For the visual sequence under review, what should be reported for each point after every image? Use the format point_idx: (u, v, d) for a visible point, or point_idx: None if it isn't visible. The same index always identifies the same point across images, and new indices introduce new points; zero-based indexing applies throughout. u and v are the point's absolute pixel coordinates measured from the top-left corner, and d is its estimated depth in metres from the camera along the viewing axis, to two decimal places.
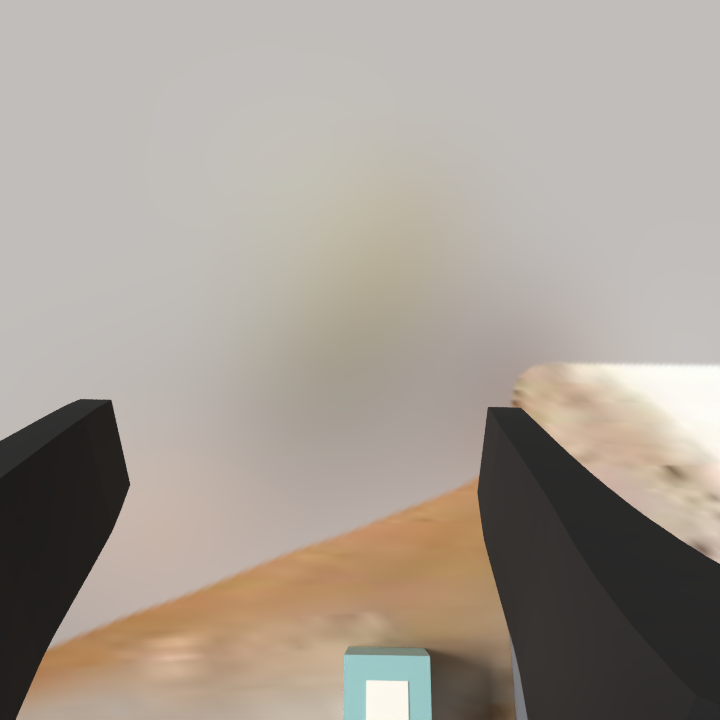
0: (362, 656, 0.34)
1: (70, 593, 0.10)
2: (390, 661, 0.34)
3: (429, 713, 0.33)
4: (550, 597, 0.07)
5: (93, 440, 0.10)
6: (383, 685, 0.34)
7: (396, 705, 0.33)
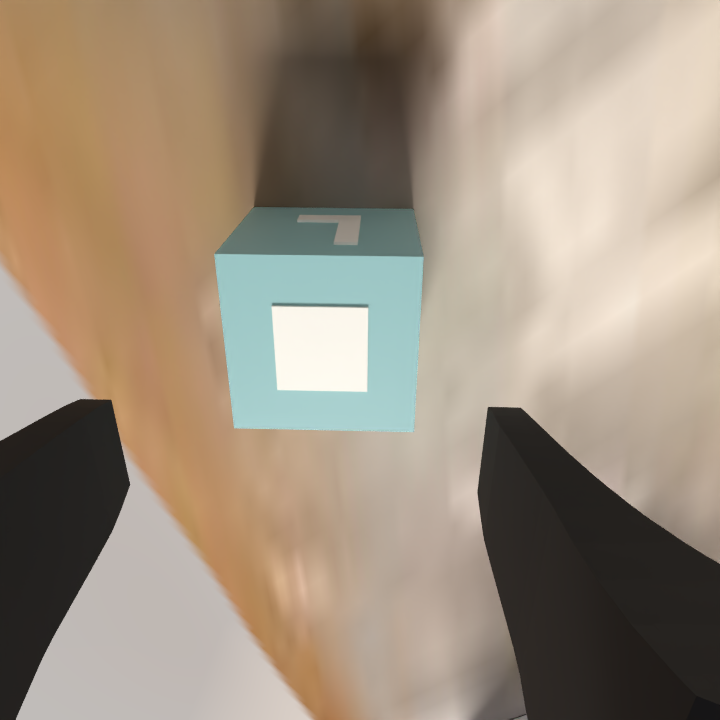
0: (233, 395, 0.16)
1: (70, 593, 0.10)
2: (235, 341, 0.15)
3: (335, 260, 0.14)
4: (550, 597, 0.07)
5: (93, 440, 0.10)
6: (284, 357, 0.15)
7: (323, 330, 0.15)
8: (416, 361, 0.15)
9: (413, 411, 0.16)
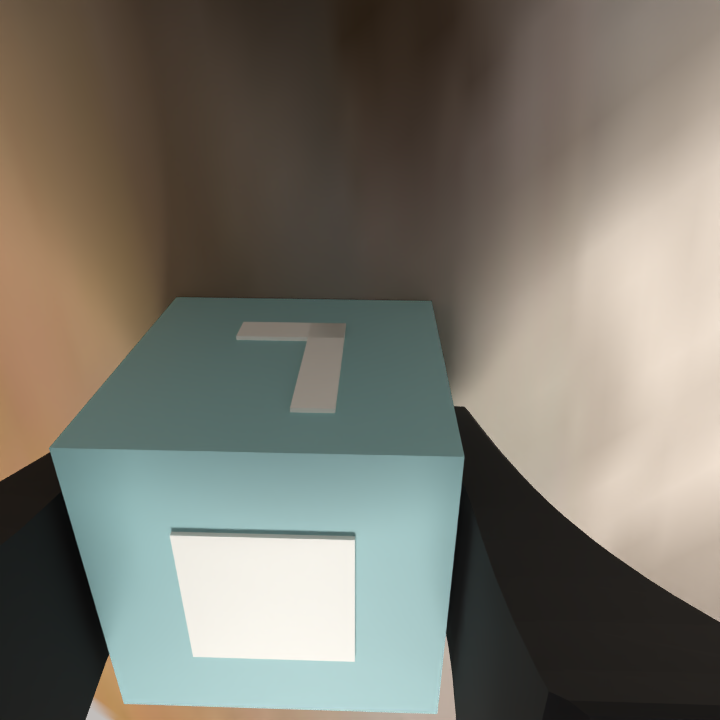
0: (116, 660, 0.09)
1: None
2: (110, 585, 0.08)
3: (289, 461, 0.07)
4: (469, 595, 0.08)
5: None
6: (201, 612, 0.08)
7: (271, 571, 0.08)
8: (445, 618, 0.08)
9: (437, 687, 0.09)
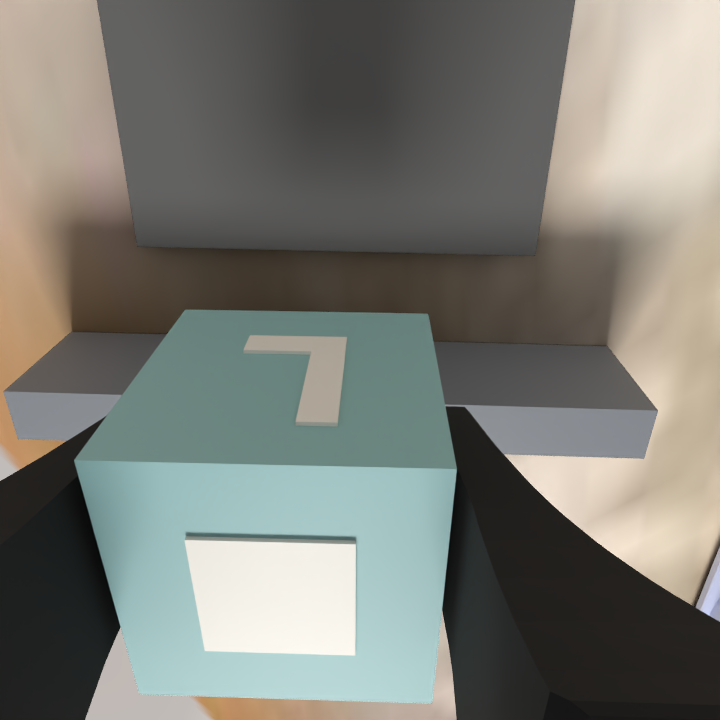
0: (133, 654, 0.10)
1: None
2: (128, 585, 0.09)
3: (295, 473, 0.08)
4: (470, 595, 0.08)
5: None
6: (213, 609, 0.09)
7: (279, 571, 0.09)
8: (439, 615, 0.09)
9: (432, 679, 0.10)
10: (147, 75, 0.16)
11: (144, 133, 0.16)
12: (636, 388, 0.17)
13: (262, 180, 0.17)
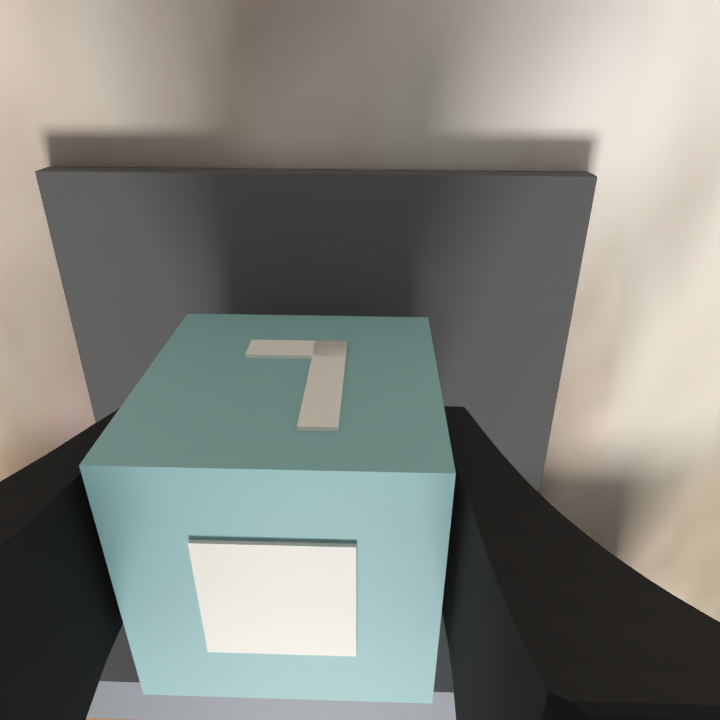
0: (137, 654, 0.10)
1: None
2: (131, 587, 0.09)
3: (297, 477, 0.08)
4: (469, 595, 0.08)
5: None
6: (215, 611, 0.09)
7: (280, 574, 0.09)
8: (438, 617, 0.09)
9: (432, 679, 0.10)
10: (119, 351, 0.15)
11: (118, 400, 0.15)
12: None
13: None
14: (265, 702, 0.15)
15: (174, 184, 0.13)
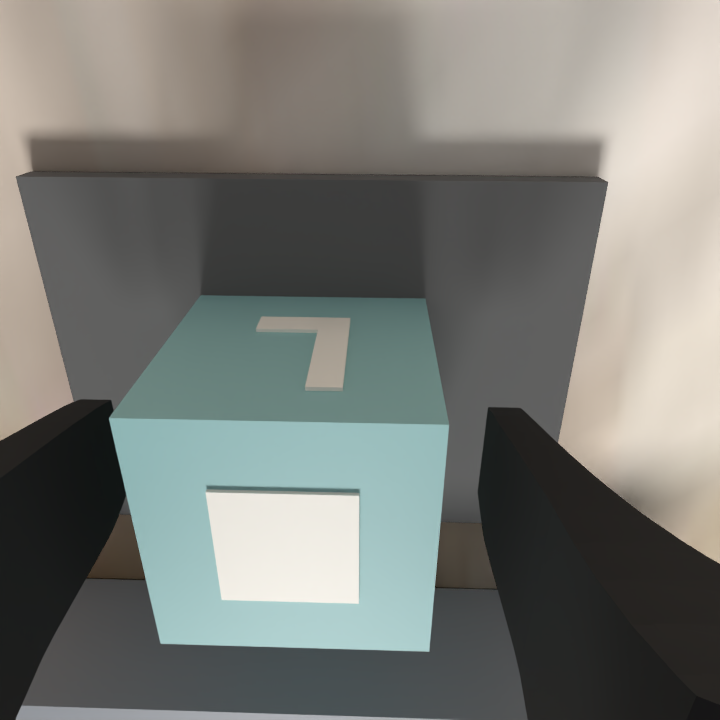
0: (155, 603, 0.10)
1: (70, 593, 0.10)
2: (153, 536, 0.10)
3: (305, 429, 0.09)
4: (550, 597, 0.07)
5: (93, 440, 0.10)
6: (230, 559, 0.10)
7: (289, 523, 0.09)
8: (434, 564, 0.10)
9: (429, 627, 0.10)
10: (106, 363, 0.14)
11: None
12: None
13: None
14: None
15: (162, 189, 0.12)
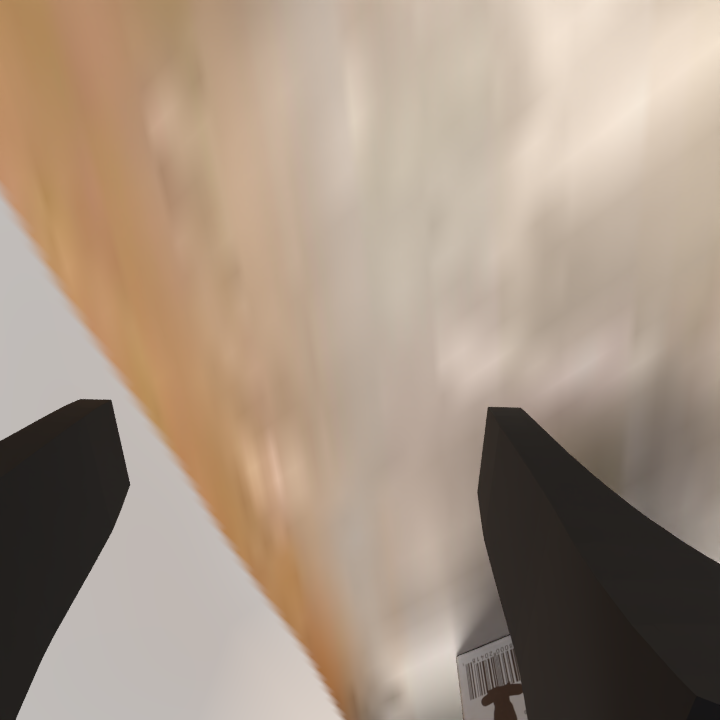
0: None
1: (70, 593, 0.10)
2: None
3: None
4: (550, 597, 0.07)
5: (93, 440, 0.10)
6: None
7: None
8: None
9: None
10: None
11: None
12: None
13: None
14: None
15: None
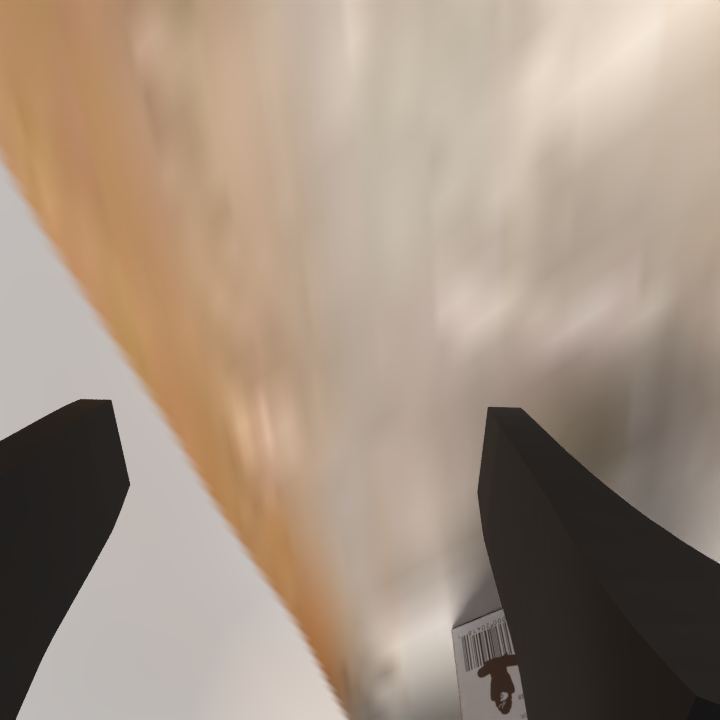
0: None
1: (70, 593, 0.10)
2: None
3: None
4: (550, 597, 0.07)
5: (93, 440, 0.10)
6: None
7: None
8: None
9: None
10: None
11: None
12: None
13: None
14: None
15: None
